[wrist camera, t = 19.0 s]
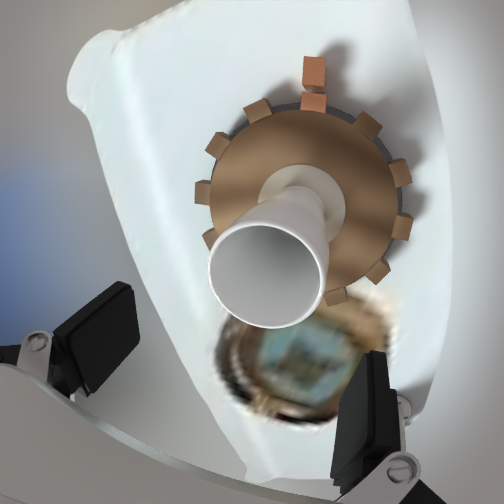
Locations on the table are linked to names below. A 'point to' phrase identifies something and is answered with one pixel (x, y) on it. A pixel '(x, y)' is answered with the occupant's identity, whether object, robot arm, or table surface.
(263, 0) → the table surface
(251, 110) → the sprocket
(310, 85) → the sprocket stand
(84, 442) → the robot arm
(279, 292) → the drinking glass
